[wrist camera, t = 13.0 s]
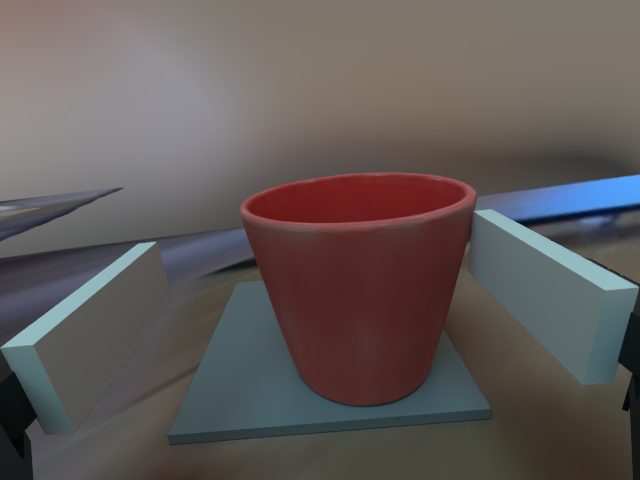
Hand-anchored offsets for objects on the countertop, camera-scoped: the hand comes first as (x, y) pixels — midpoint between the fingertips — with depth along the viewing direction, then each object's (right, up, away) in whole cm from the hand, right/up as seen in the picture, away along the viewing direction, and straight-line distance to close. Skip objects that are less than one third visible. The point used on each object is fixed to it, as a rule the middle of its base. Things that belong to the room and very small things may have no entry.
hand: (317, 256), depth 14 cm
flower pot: (+3, -6, +6) cm, 9 cm away
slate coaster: (0, -6, +9) cm, 10 cm away
